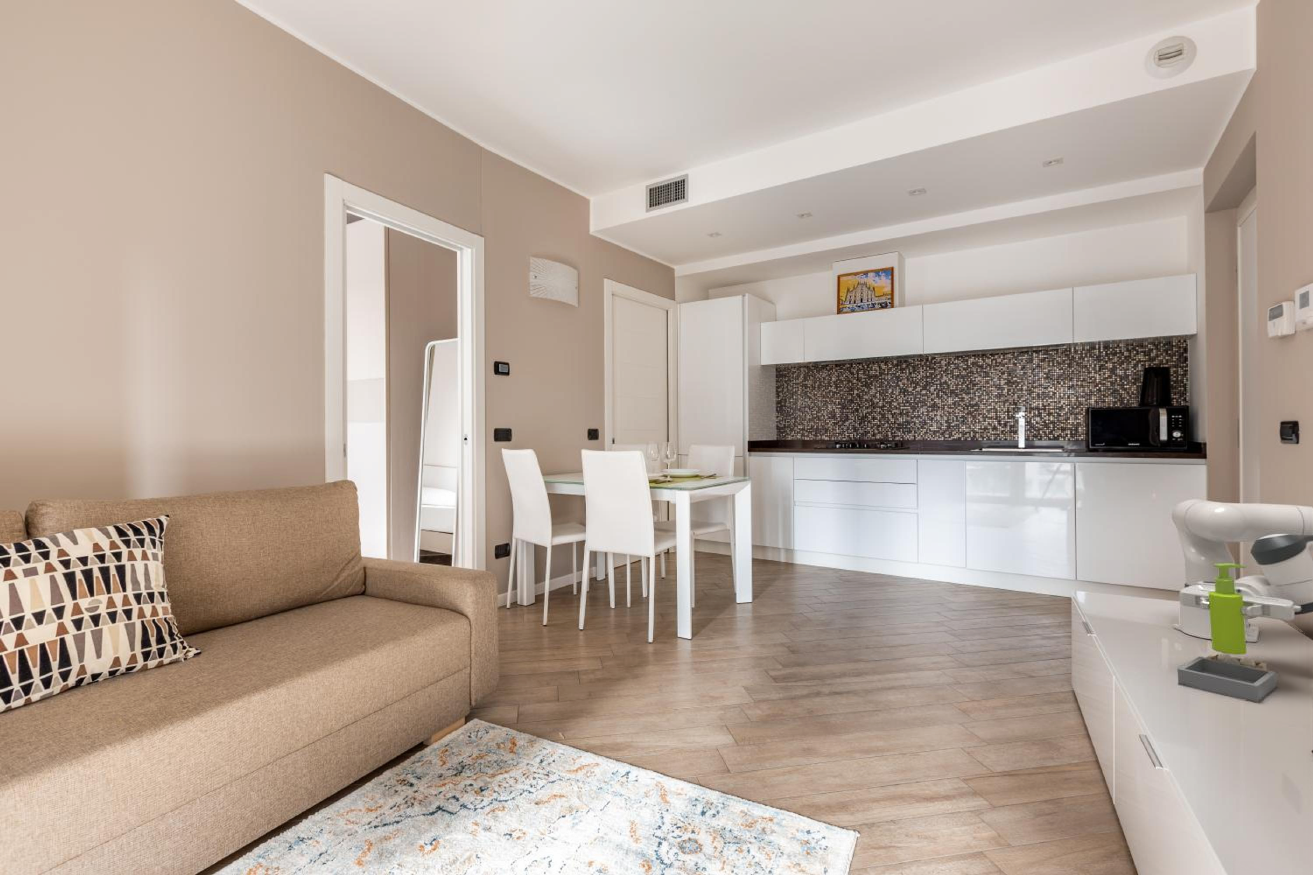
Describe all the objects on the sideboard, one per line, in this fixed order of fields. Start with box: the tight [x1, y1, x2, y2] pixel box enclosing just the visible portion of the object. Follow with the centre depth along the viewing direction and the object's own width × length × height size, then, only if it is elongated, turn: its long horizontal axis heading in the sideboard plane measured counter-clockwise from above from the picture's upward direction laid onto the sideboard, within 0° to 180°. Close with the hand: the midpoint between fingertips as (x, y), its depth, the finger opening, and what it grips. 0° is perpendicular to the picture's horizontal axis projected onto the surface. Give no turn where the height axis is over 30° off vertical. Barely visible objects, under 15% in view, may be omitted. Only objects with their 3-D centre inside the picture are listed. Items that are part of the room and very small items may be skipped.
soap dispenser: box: [1209, 563, 1247, 656], centre depth 146 cm, size 6×7×20 cm
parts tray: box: [1205, 652, 1268, 670], centre depth 155 cm, size 8×10×2 cm
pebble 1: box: [1217, 653, 1233, 661], centre depth 157 cm, size 3×3×3 cm
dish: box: [1177, 656, 1278, 704], centre depth 146 cm, size 14×14×4 cm
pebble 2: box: [1224, 657, 1240, 665], centre depth 154 cm, size 3×3×3 cm
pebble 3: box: [1239, 657, 1256, 668], centre depth 154 cm, size 3×3×3 cm
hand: (1224, 608), depth 146 cm, fingers closed on soap dispenser, 6 cm apart
